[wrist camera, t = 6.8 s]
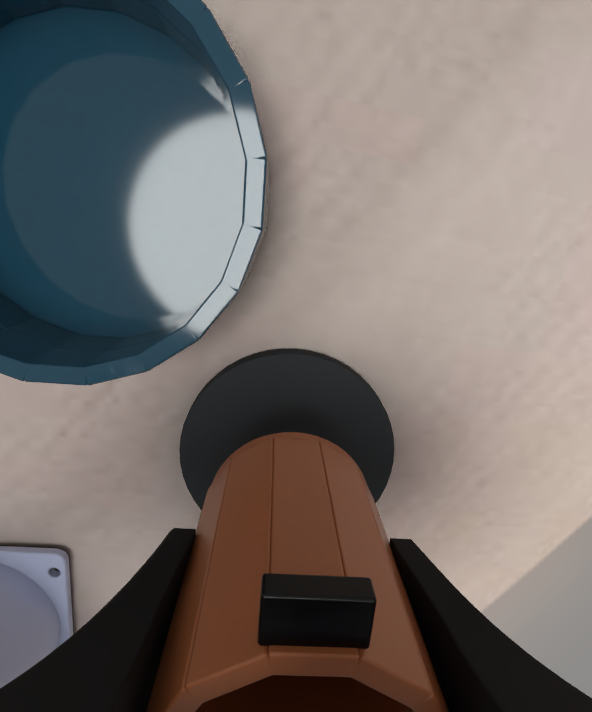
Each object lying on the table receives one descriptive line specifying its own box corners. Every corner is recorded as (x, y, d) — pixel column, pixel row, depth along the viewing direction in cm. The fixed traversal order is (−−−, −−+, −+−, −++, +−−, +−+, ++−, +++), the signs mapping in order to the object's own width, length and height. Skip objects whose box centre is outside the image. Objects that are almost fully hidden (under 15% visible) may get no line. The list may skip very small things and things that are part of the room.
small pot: (355, 595, 16) (422, 916, 9) (205, 589, 16) (138, 916, 8) (382, 410, 14) (500, 612, 7) (212, 398, 14) (132, 598, 6)
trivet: (375, 540, 21) (379, 552, 20) (181, 531, 20) (177, 543, 20) (403, 356, 18) (409, 361, 18) (184, 340, 18) (181, 345, 17)
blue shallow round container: (258, 357, 18) (252, 396, 14) (-46, 336, 18) (-153, 370, 13) (280, 17, 15) (281, -69, 11) (-91, -25, 14) (-251, -137, 10)
